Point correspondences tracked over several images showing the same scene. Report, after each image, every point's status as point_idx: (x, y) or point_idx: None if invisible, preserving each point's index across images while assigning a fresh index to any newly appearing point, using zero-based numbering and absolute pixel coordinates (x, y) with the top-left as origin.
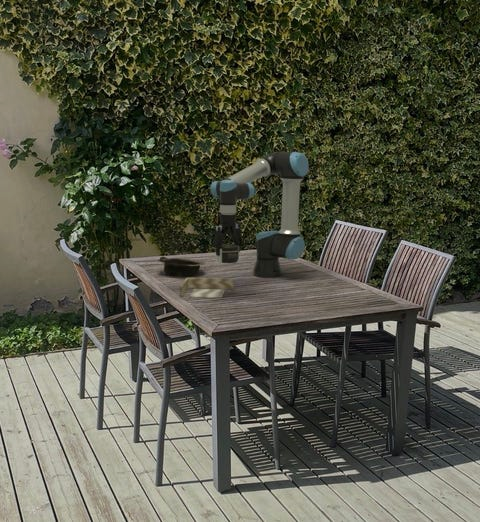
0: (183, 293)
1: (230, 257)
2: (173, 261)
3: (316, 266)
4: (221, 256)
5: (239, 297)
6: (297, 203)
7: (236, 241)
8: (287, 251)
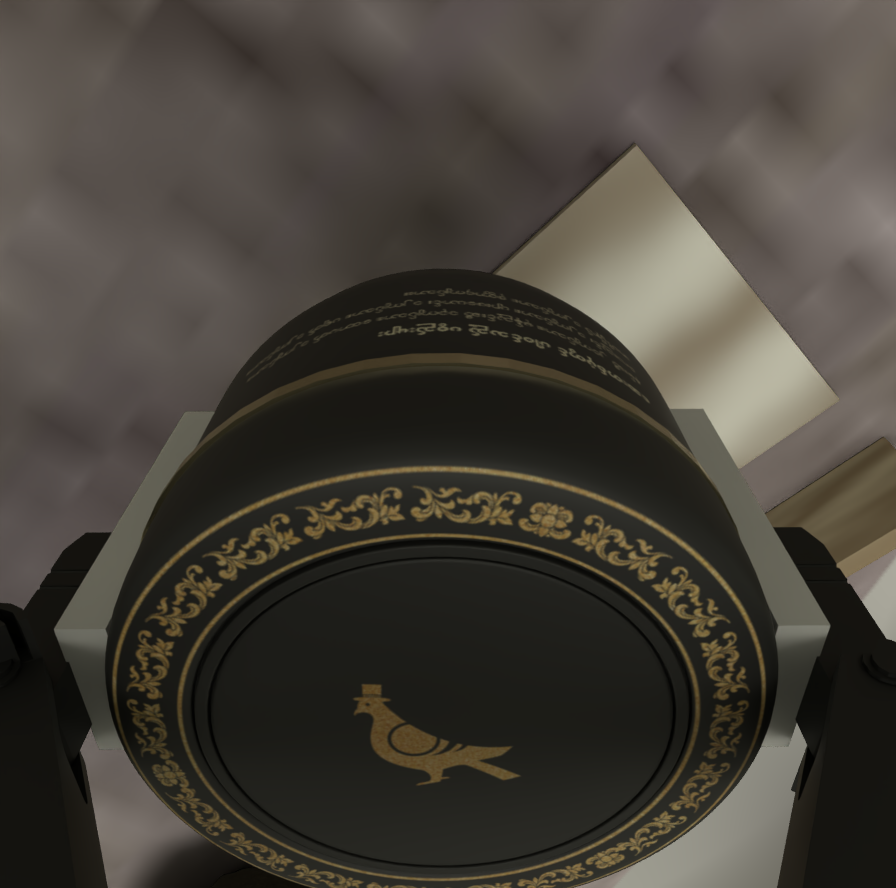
0: (810, 498)
1: (573, 325)
2: None
3: None
4: (720, 486)
5: (451, 3)
6: None
7: (70, 803)
8: None
